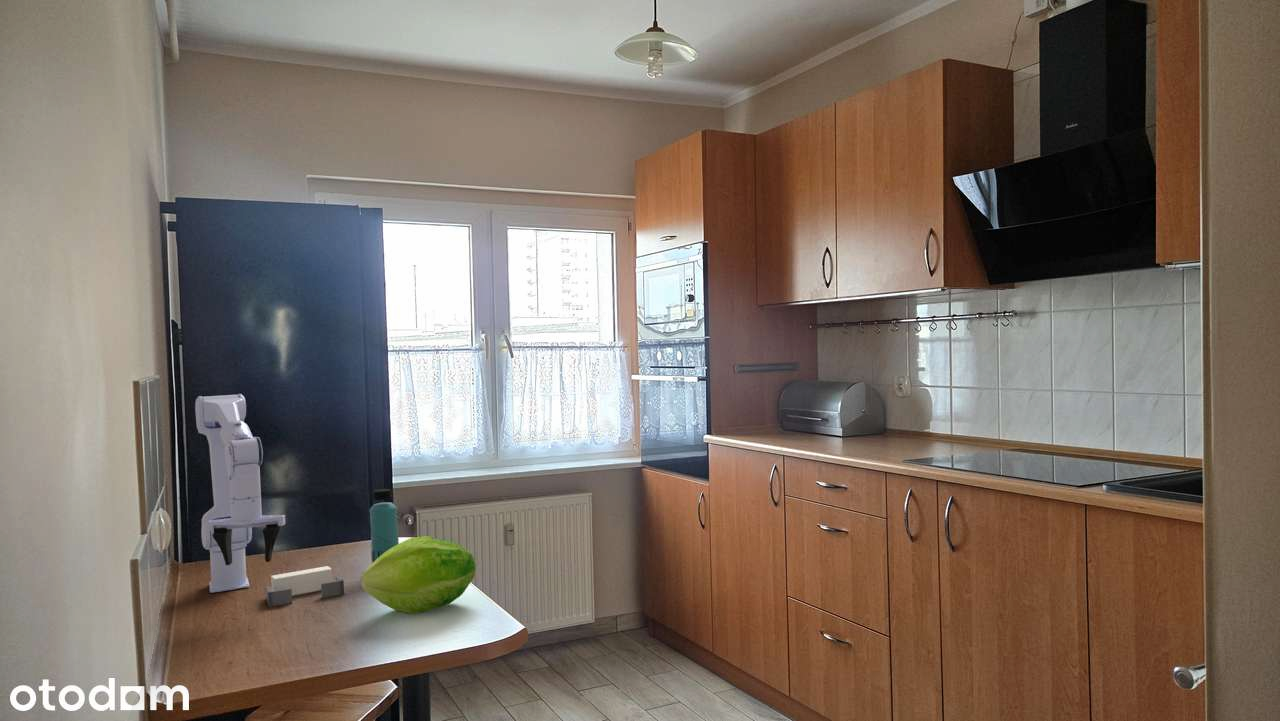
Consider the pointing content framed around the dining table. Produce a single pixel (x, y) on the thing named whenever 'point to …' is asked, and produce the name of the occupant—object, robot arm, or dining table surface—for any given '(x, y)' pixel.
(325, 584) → the end cap
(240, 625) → the dining table surface
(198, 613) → the dining table surface
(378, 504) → the beverage bottle
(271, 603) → the end cap
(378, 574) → the green papaya
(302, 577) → the cream rectangular block
